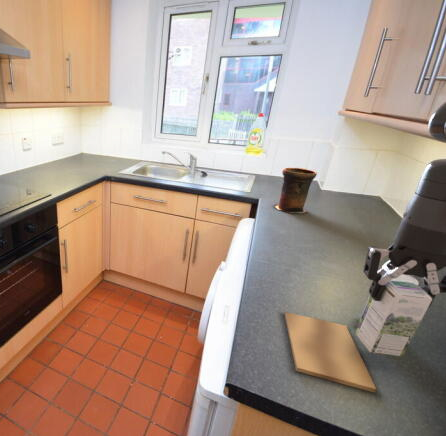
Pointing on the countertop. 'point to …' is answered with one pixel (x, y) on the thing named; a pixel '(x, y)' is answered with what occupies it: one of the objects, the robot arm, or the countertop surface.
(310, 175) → the vessel
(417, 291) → the syrup box
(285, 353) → the countertop surface
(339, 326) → the oak board
